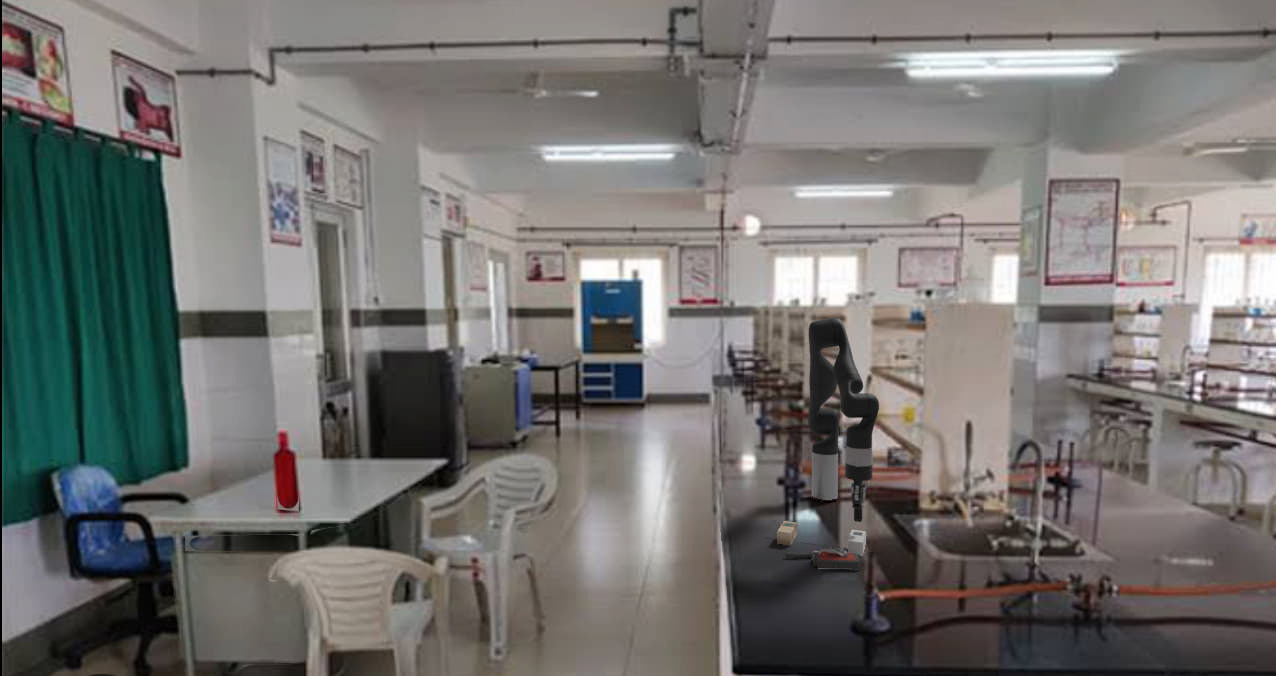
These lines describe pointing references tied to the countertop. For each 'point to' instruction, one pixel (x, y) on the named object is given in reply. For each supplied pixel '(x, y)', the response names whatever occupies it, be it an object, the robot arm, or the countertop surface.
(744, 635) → the countertop surface
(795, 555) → the walkie-talkie
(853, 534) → the grey block
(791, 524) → the beech block
